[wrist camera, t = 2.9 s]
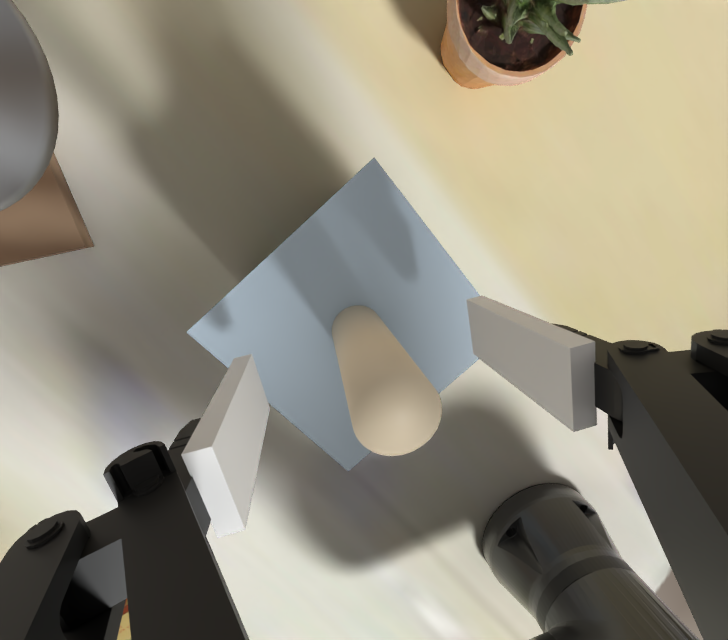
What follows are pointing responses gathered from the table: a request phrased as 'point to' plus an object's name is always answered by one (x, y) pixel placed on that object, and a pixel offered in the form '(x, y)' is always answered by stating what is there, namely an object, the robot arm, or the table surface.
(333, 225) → the cover
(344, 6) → the table surface
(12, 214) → the balance
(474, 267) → the table surface
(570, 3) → the potted plant
